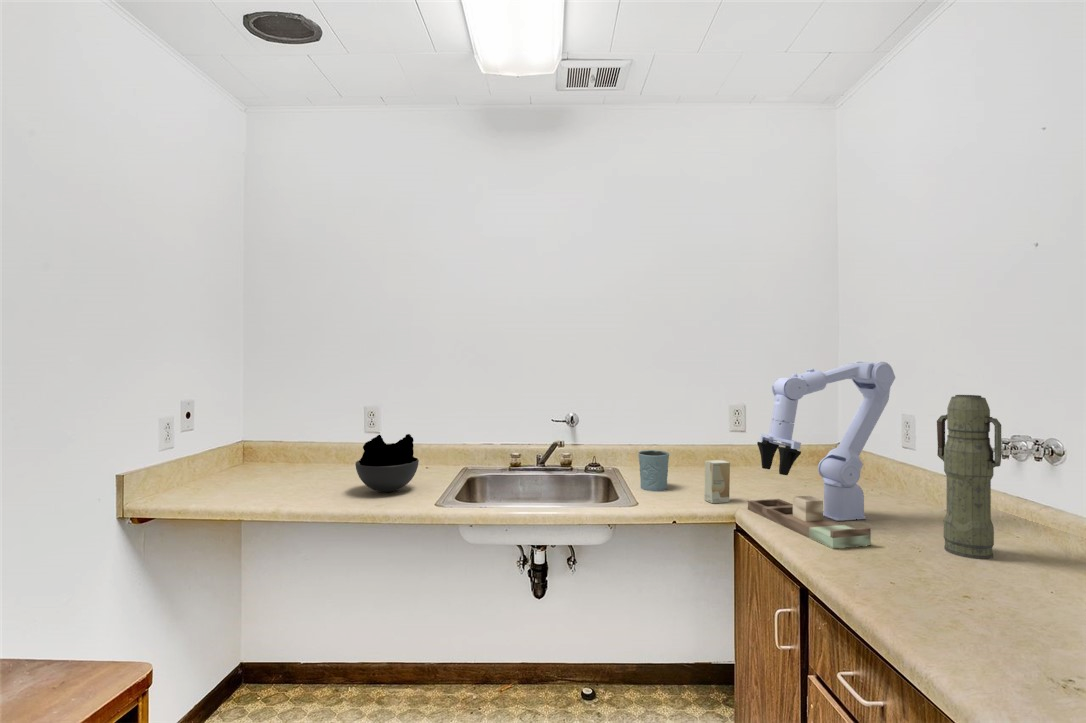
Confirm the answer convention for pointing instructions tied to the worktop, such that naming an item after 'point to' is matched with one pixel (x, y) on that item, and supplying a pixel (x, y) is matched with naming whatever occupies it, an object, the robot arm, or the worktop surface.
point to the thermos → (968, 475)
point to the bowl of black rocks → (387, 464)
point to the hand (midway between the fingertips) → (774, 471)
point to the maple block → (808, 508)
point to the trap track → (811, 525)
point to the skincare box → (717, 481)
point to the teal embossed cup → (653, 470)
